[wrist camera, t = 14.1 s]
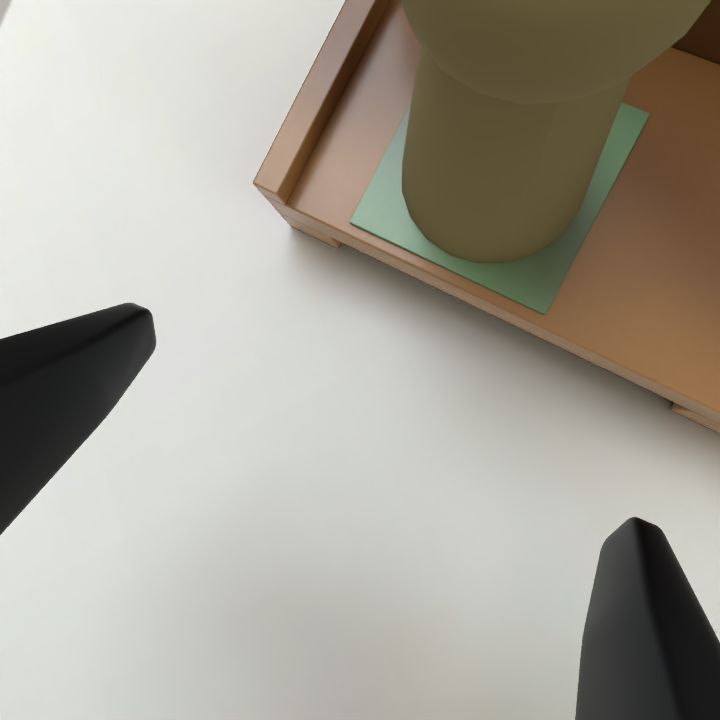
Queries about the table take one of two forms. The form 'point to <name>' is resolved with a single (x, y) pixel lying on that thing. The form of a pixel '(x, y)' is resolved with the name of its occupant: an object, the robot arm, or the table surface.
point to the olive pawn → (519, 112)
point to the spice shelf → (578, 241)
